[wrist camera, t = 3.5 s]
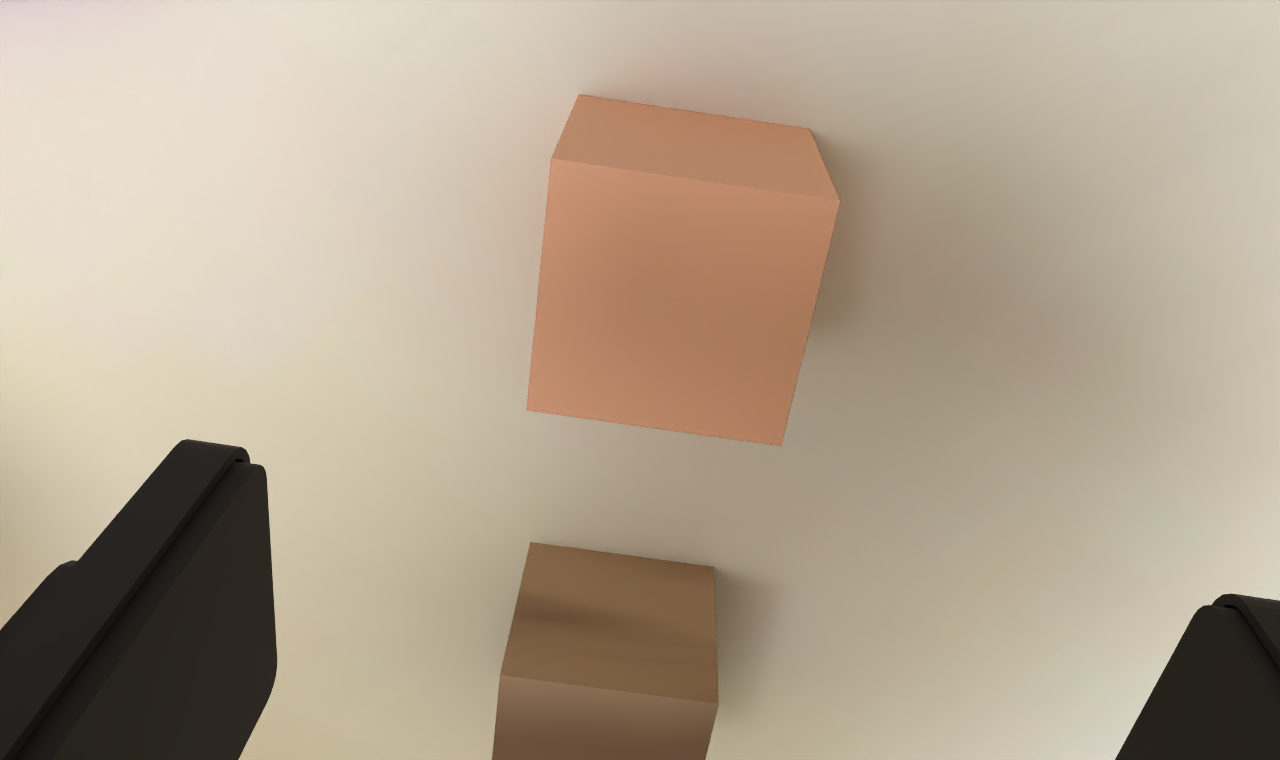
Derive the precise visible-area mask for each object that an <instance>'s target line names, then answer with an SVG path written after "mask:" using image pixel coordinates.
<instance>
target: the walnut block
mask: <svg viewBox="0 0 1280 760" xmlns="http://www.w3.org/2000/svg"><path fill="white" fill-rule="evenodd" d="M717 708H718V676H717V647H716V618H715V589H714V567H709V566H701V565H694V564H686V563H679V562H672V561H664V560H657V559H649V558H642V557H635V556H627V555H620V554H612V553H605V552H597V551H590V550H583V549H575V548H568V547H560V546H553V545H546V544H538V543H531V542H530V546H529V550H528V555H527V559H526V564H525V568H524V573H523V577H522V581H521V586H520V590H519V595H518V599H517V603H516V608H515V612H514V617H513V621H512V625H511V630H510V634H509V639H508V643H507V647H506V652H505V656H504V661H503V665H502V669H501V674H500V683H499V693H498V704H497V714H496V725H495V735H494V746H493V756H492V760H705V759H706V754H707V750H708V746H709V742H710V738H711V733H712V729H713V725H714V721H715V717H716V712H717Z"/></svg>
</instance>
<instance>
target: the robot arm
mask: <svg viewBox="0 0 1280 760" xmlns="http://www.w3.org/2000/svg"><path fill="white" fill-rule="evenodd" d="M276 670H277V649H276V631H275V614H274V597H273V579H272V562H271V545H270V527H269V510H268V492H267V477H266V471H265V469H264V467H263V466H261V465H257V464H250V458H249V455H248V453H247V451H246V450H245V449H244V448H242V447H236V446H230V445H223V444H216V443H209V442H203V441H196V440H189V439H187V440H182V441H181V442H179V443H178V444H177V445H176V446H175V447H174V448H173V449H172V451H171V452H170V453H169V454H168V455H167V456H166V458H165V459H164V460H163V461H162V462H161V464H160V465H159V466H158V467H157V468H156V469H155V471H154V472H153V473H152V474H151V475H150V477H149V478H148V479H147V480H146V481H145V482H144V484H143V485H142V486H141V487H140V488H139V490H138V491H137V492H136V493H135V494H134V495H133V497H132V498H131V499H130V500H129V501H128V502H127V504H126V505H125V506H124V507H123V508H122V510H121V511H120V512H119V513H118V514H117V515H116V517H115V518H114V519H113V520H112V521H111V523H110V524H109V525H108V526H107V527H106V528H105V530H104V531H103V532H102V533H101V534H100V536H99V537H98V538H97V539H96V540H95V541H94V543H93V544H92V545H91V546H90V547H89V549H88V550H87V551H86V552H85V553H84V554H83V556H82V557H81V558H80V559H79V560H78V561H73V560H71V561H69V562H66V563H64V564H61V565H59V566H58V567H57V568H56V569H55V570H54V571H53V572H52V573H51V574H49V575H48V576H47V577H46V578H45V580H44V581H43V582H42V583H41V584H40V585H39V586H38V588H37V589H36V590H35V591H34V592H33V593H32V594H31V596H30V597H29V598H28V599H27V600H26V601H25V602H24V604H23V605H22V606H21V607H20V608H19V609H18V611H17V612H16V613H15V614H14V615H13V616H12V617H11V619H10V620H9V621H8V622H7V623H6V624H5V625H4V627H3V628H2V629H1V630H0V760H238V759H239V757H240V755H241V753H242V751H243V749H244V747H245V745H246V743H247V741H248V739H249V737H250V735H251V733H252V731H253V729H254V727H255V725H256V723H257V721H258V719H259V717H260V715H261V713H262V711H263V709H264V707H265V705H266V703H267V701H268V699H269V697H270V694H271V691H272V688H273V685H274V681H275V677H276ZM1115 760H1280V601H1278V600H1271V599H1264V598H1257V597H1251V596H1244V595H1237V594H1223V595H1222V596H1220V597H1219V598H1217V599H1216V600H1215V601H1214V603H1213V604H1212V605H1207V606H1203V607H1201V608H1200V609H1198V610H1197V612H1196V613H1195V614H1194V616H1193V618H1192V620H1191V621H1190V623H1189V625H1188V627H1187V629H1186V631H1185V632H1184V634H1183V636H1182V638H1181V640H1180V642H1179V643H1178V645H1177V647H1176V649H1175V651H1174V653H1173V654H1172V656H1171V658H1170V660H1169V662H1168V664H1167V665H1166V667H1165V669H1164V671H1163V673H1162V675H1161V676H1160V678H1159V680H1158V682H1157V684H1156V686H1155V687H1154V689H1153V691H1152V693H1151V695H1150V697H1149V698H1148V700H1147V702H1146V704H1145V706H1144V708H1143V709H1142V711H1141V713H1140V715H1139V717H1138V719H1137V720H1136V722H1135V724H1134V726H1133V728H1132V730H1131V731H1130V733H1129V735H1128V737H1127V739H1126V741H1125V742H1124V744H1123V746H1122V748H1121V750H1120V752H1119V753H1118V755H1117V757H1116V759H1115Z"/></svg>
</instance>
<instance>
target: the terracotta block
mask: <svg viewBox="0 0 1280 760" xmlns="http://www.w3.org/2000/svg"><path fill="white" fill-rule="evenodd" d="M839 205H840V199H839V197H838V194H837V192H836V190H835V187H834V185H833V183H832V180H831V178H830V176H829V173H828V171H827V169H826V166H825V164H824V162H823V159H822V157H821V154H820V152H819V150H818V147H817V145H816V143H815V140H814V138H813V136H812V133H811V131H810V129H806V128H799V127H792V126H785V125H779V124H772V123H765V122H759V121H752V120H745V119H739V118H732V117H725V116H719V115H712V114H705V113H699V112H692V111H685V110H679V109H672V108H665V107H659V106H652V105H645V104H639V103H632V102H625V101H619V100H612V99H605V98H598V97H592V96H585V95H578V97H577V100H576V102H575V104H574V107H573V109H572V111H571V114H570V116H569V118H568V121H567V123H566V125H565V128H564V130H563V132H562V135H561V137H560V139H559V142H558V144H557V146H556V149H555V151H554V153H553V156H552V158H551V166H550V176H549V186H548V197H547V207H546V217H545V227H544V237H543V247H542V258H541V268H540V278H539V288H538V298H537V309H536V319H535V329H534V339H533V349H532V360H531V370H530V380H529V390H528V400H527V410H528V411H535V412H543V413H550V414H557V415H564V416H571V417H578V418H585V419H592V420H599V421H607V422H614V423H621V424H628V425H635V426H642V427H649V428H656V429H663V430H671V431H678V432H685V433H692V434H699V435H706V436H713V437H720V438H727V439H735V440H742V441H749V442H756V443H763V444H770V445H777V446H781V445H782V440H783V436H784V432H785V428H786V424H787V420H788V416H789V412H790V407H791V403H792V399H793V395H794V391H795V387H796V383H797V378H798V374H799V370H800V366H801V362H802V358H803V354H804V350H805V345H806V341H807V337H808V333H809V329H810V325H811V321H812V316H813V312H814V308H815V304H816V300H817V296H818V292H819V288H820V283H821V279H822V275H823V271H824V267H825V263H826V259H827V254H828V250H829V246H830V242H831V238H832V234H833V230H834V226H835V221H836V217H837V213H838V209H839Z"/></svg>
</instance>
